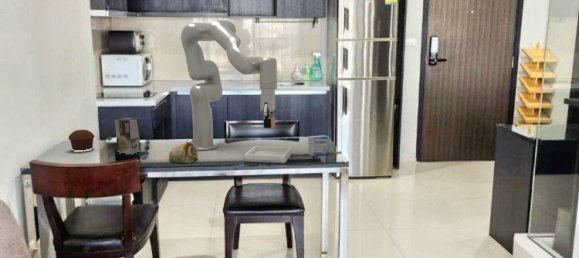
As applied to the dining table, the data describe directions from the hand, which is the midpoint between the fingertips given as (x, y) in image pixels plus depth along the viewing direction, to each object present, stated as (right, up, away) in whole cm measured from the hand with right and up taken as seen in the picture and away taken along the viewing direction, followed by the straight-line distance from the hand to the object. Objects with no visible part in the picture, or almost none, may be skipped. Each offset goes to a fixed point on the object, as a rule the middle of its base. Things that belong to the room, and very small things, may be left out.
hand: (268, 126), depth 225 cm
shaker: (0, -1, 0) cm, 1 cm away
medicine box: (+22, -13, +9) cm, 27 cm away
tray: (0, -14, +3) cm, 14 cm away
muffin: (-90, -12, +17) cm, 92 cm away
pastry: (-38, -15, -2) cm, 41 cm away
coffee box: (-66, -13, +13) cm, 69 cm away
